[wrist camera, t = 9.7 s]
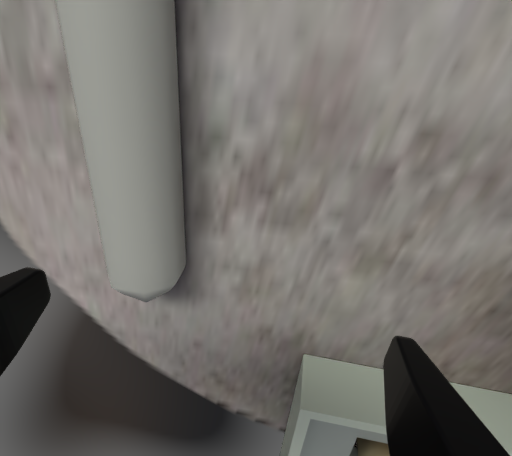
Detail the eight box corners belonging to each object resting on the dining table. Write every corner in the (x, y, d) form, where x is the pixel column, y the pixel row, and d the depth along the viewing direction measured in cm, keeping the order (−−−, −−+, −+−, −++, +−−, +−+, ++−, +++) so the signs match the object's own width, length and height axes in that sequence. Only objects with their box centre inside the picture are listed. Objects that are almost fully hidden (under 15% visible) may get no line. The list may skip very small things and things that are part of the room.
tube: (191, 314, 22) (162, -431, 9) (97, 321, 21) (-91, -502, 8) (190, 261, 26) (170, -285, 13) (113, 264, 25) (10, -318, 12)
